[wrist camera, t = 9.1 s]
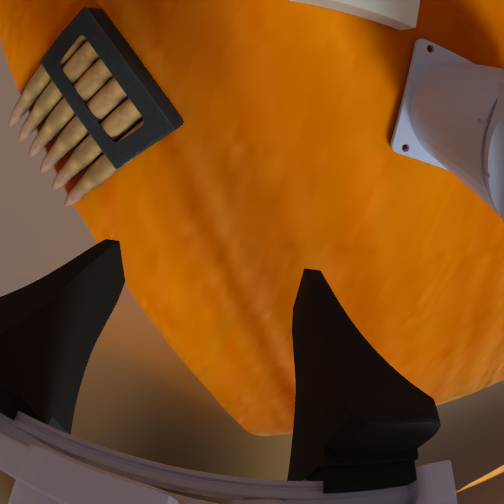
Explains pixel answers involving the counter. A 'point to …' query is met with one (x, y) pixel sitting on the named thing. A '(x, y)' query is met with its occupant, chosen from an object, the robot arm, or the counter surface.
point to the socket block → (376, 10)
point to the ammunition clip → (92, 104)
